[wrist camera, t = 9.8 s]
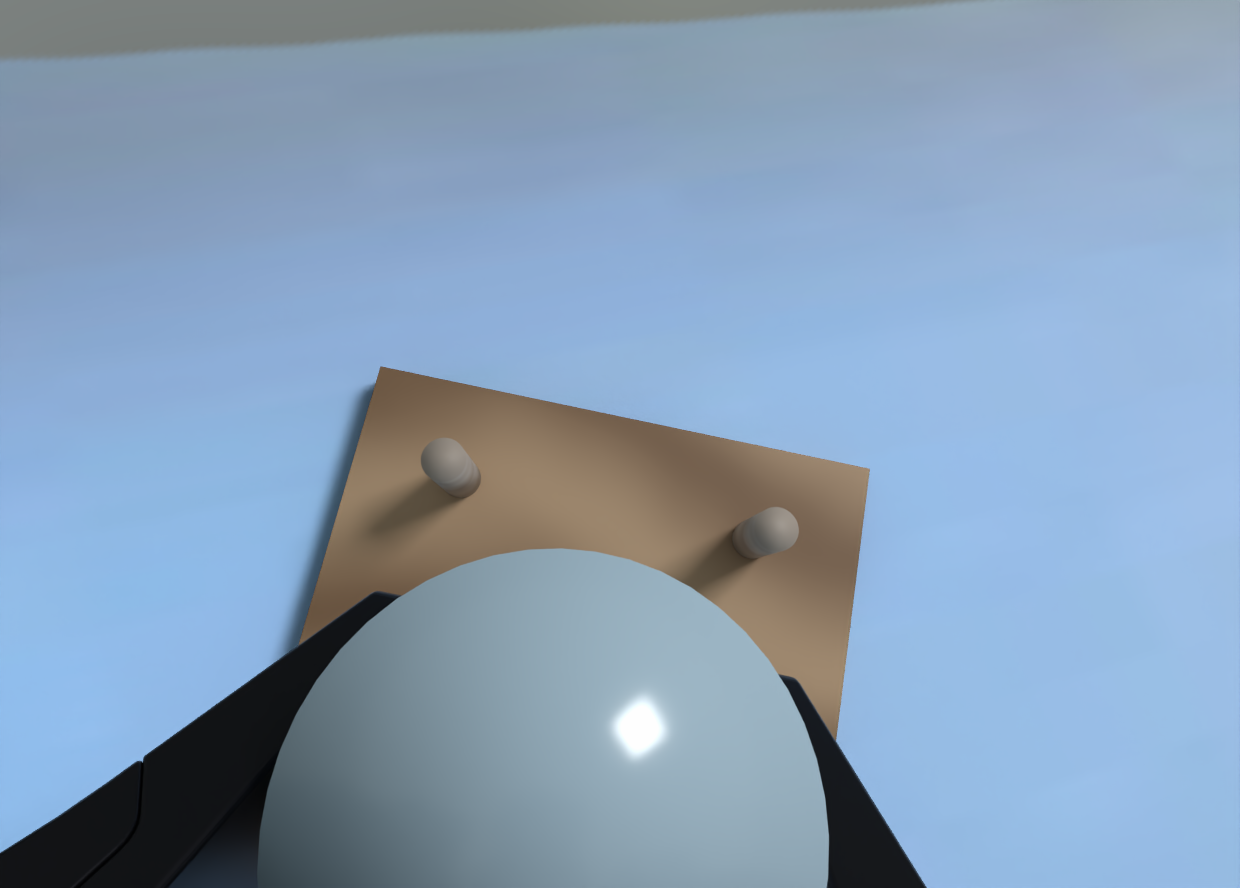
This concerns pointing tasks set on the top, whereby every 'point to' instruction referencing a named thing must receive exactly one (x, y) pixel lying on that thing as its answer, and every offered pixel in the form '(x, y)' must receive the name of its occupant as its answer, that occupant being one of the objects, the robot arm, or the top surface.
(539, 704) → the grey dome-topped cylinder
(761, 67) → the top surface
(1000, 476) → the top surface
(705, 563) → the dish rack
